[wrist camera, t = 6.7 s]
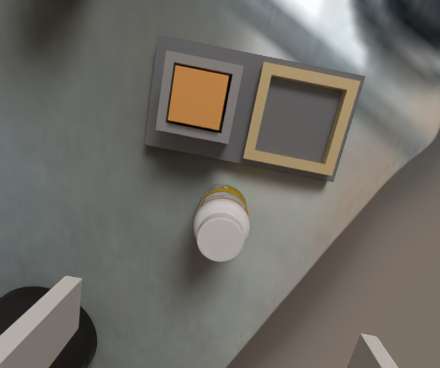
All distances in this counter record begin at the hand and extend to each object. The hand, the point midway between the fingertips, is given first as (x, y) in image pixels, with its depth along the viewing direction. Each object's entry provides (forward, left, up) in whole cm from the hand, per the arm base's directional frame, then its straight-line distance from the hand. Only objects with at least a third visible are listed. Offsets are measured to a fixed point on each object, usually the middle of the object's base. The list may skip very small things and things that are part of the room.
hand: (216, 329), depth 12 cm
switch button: (+1, +12, -17) cm, 21 cm away
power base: (+5, +10, -19) cm, 22 cm away
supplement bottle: (0, 0, -20) cm, 20 cm away
